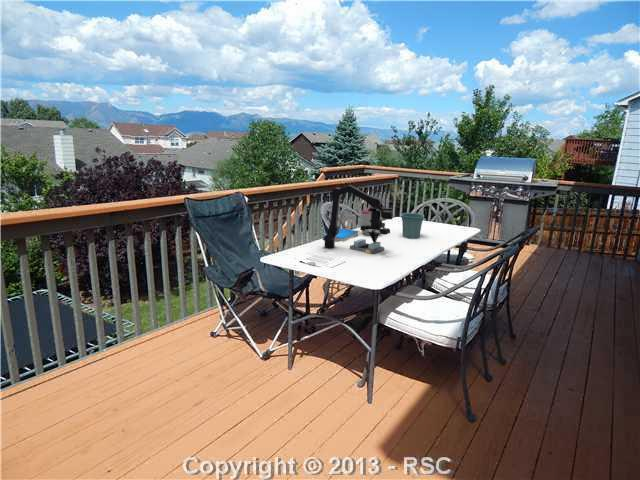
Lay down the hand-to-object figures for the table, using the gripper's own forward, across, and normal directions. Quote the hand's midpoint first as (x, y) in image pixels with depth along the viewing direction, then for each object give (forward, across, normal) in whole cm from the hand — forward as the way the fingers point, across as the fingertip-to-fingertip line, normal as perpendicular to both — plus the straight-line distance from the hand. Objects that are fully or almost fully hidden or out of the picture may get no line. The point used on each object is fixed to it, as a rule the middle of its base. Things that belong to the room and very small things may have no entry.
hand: (374, 242), depth 254 cm
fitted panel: (+5, +11, 0) cm, 12 cm away
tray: (+7, +15, +35) cm, 39 cm away
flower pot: (+7, +4, -54) cm, 55 cm away
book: (+7, +40, -17) cm, 44 cm away
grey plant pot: (+7, +30, -40) cm, 50 cm away
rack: (+6, +6, 0) cm, 9 cm away
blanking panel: (+5, 0, 0) cm, 5 cm away
